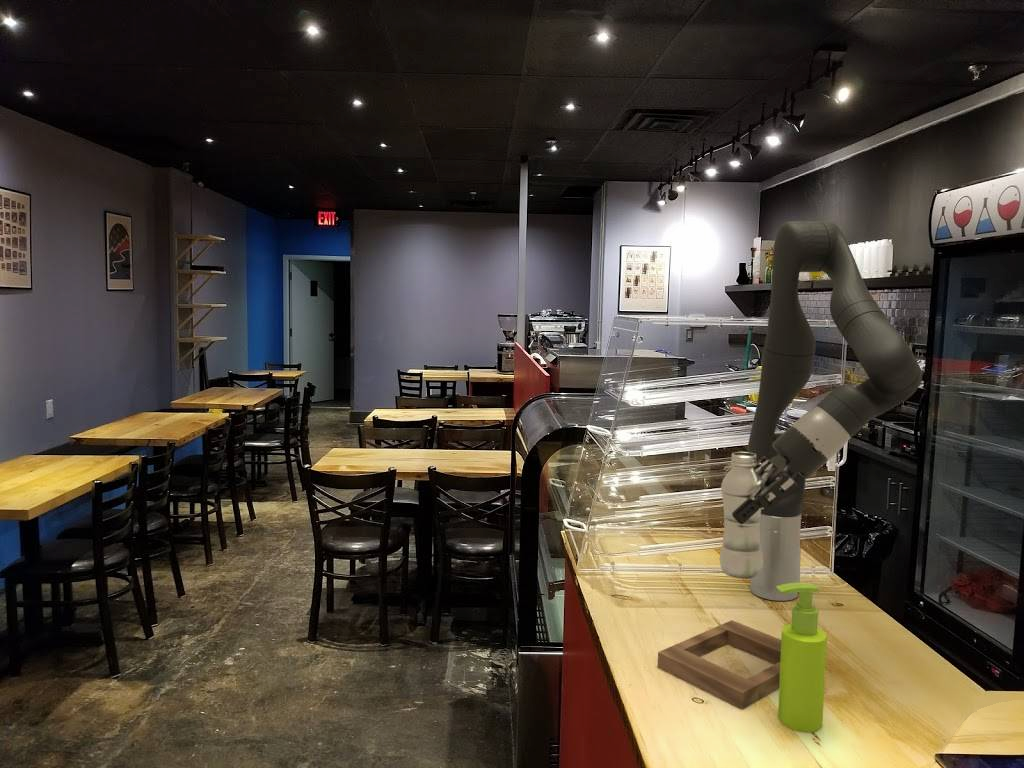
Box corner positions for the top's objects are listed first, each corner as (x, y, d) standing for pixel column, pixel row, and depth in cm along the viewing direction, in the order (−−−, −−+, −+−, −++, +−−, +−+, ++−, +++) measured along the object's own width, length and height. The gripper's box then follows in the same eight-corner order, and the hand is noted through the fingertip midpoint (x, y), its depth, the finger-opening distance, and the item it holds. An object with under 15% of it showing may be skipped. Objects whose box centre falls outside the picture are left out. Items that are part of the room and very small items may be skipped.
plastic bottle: (765, 585, 113) (769, 458, 111) (720, 582, 114) (723, 457, 112) (759, 570, 119) (763, 451, 117) (717, 567, 121) (720, 449, 119)
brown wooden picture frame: (731, 633, 131) (731, 620, 131) (814, 668, 118) (815, 653, 118) (657, 666, 119) (658, 652, 118) (742, 709, 106) (742, 693, 106)
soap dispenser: (764, 710, 106) (769, 577, 104) (809, 708, 107) (816, 576, 104) (782, 733, 100) (788, 594, 98) (830, 731, 101) (837, 592, 99)
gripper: (781, 417, 121) (706, 486, 123) (808, 432, 107) (724, 509, 109) (812, 449, 121) (737, 517, 123) (844, 468, 107) (759, 544, 109)
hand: (731, 513), depth 116 cm, fingers closed on plastic bottle, 6 cm apart
